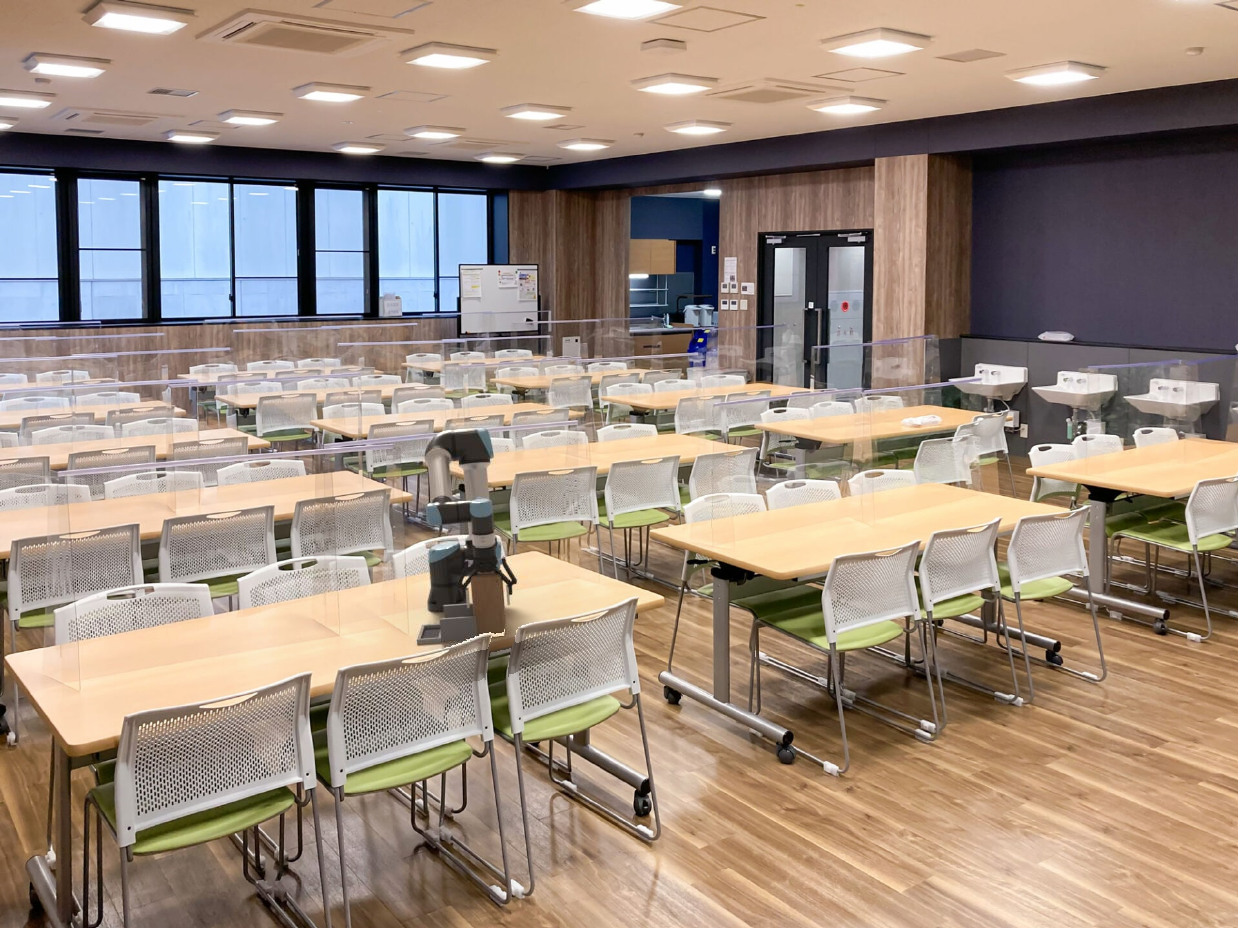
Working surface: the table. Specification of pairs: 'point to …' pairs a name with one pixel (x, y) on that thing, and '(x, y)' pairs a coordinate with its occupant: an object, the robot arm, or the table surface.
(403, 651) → the table surface
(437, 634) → the pit trap
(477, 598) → the wooden block
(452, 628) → the channel
